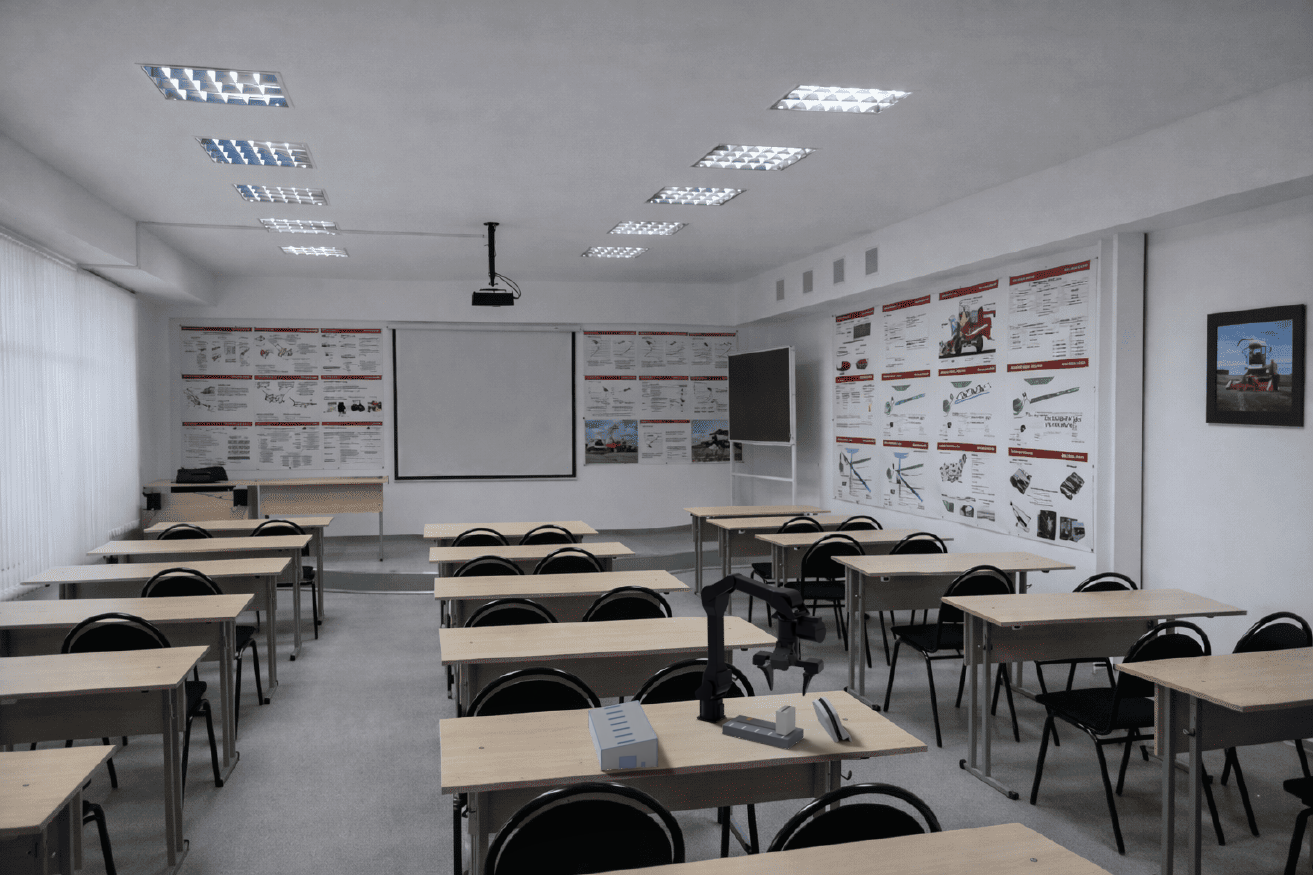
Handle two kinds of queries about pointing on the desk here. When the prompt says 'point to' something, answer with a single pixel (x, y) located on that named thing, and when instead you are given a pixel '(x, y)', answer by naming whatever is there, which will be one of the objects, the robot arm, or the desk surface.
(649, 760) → the warehouse
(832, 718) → the grey curved piece
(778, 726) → the fader knob
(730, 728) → the fader board
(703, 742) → the desk surface
